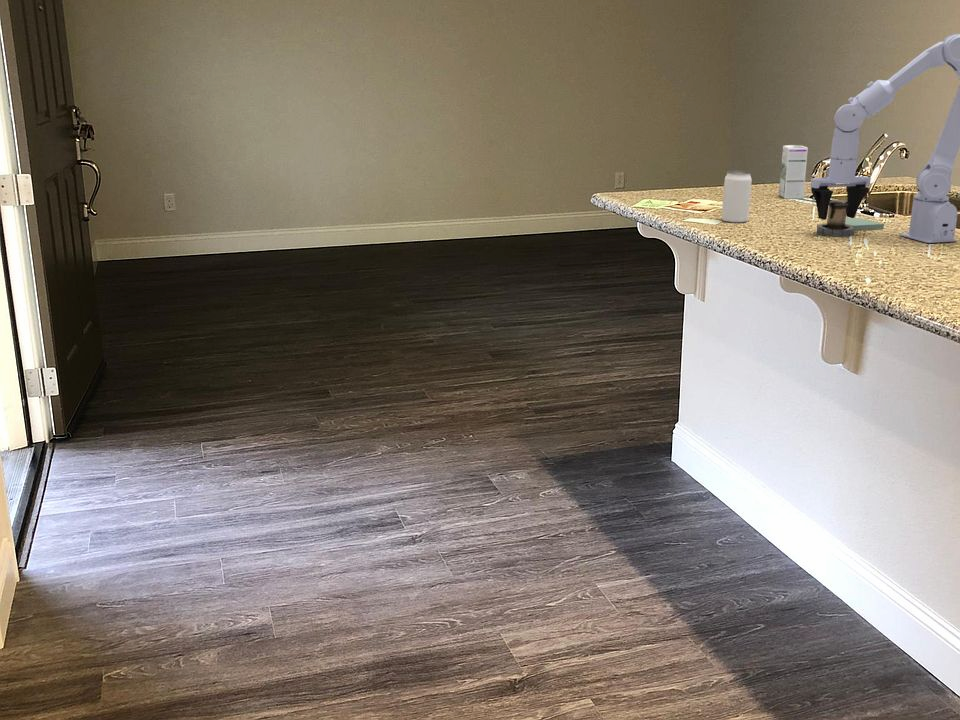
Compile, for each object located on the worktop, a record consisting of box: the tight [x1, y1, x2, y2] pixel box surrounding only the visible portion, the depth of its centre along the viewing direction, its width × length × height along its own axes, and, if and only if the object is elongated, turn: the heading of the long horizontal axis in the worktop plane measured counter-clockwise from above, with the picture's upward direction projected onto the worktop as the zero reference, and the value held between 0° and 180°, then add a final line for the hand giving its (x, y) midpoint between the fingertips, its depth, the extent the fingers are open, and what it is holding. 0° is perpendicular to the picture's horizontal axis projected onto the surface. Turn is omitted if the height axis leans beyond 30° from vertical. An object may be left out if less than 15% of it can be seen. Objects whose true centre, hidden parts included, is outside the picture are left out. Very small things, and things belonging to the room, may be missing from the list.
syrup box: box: [778, 144, 809, 200], centre depth 276 cm, size 6×6×14 cm
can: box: [721, 170, 753, 224], centre depth 241 cm, size 6×6×12 cm
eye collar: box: [816, 223, 855, 238], centre depth 227 cm, size 8×8×2 cm
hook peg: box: [826, 199, 849, 229], centre depth 226 cm, size 5×5×8 cm
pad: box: [845, 217, 885, 232], centre depth 235 cm, size 9×9×1 cm
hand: (836, 218), depth 226 cm, fingers open, 7 cm apart
